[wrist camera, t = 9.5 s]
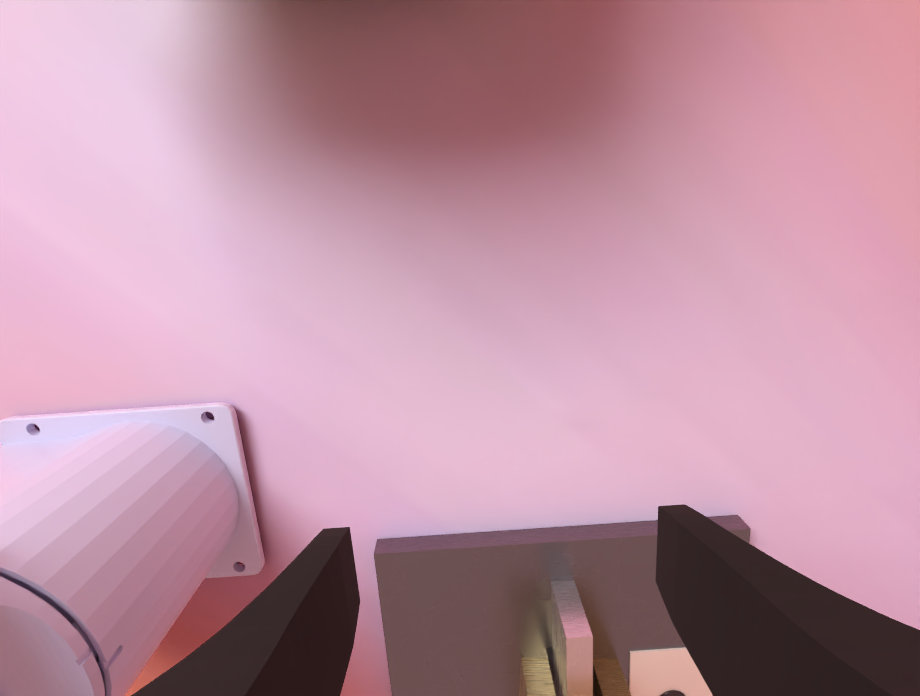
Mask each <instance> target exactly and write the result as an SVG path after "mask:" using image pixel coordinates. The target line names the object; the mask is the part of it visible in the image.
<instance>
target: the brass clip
mask: <svg viewBox="0 0 920 696" xmlns="http://www.w3.org/2000/svg"><path fill="white" fill-rule="evenodd" d="M519 696H556V694H555V689H554V685H553V680H552V675H551V671H550V666H549V661H548V658H521V672H520V686H519ZM593 696H631V693H630V690H629V688H628V685H627V682H626V680H625V677H624V674H623V672H622V669H621V666H620V664H619V661H618V658H593Z"/></svg>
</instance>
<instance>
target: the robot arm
mask: <svg viewBox="0 0 920 696" xmlns="http://www.w3.org/2000/svg"><path fill="white" fill-rule="evenodd" d="M206 412H210V413H212V414H213V416H214V420H210V419H209V418H207V416H206ZM34 424H35V425H37V426H38V427H39V429H40V431H38V430H37V429H36V428H35V426H34ZM0 443H1V446H0V696H125V695H126V693H127V692H128V690H129V689H130V687H131V686H132V684H133V683H134V681H135V680H136V678H137V677H138V675H139V674H140V673H141V671H142V670H143V668H144V667H145V665H146V664H147V662H148V661H149V659H150V658H151V656H152V655H153V653H154V652H155V650H156V649H157V648H158V646H159V645H160V643H161V642H162V640H163V639H164V637H165V636H166V634H167V633H168V631H169V630H170V628H171V627H172V626H173V624H174V623H175V621H176V620H177V618H178V617H179V615H180V614H181V612H182V611H183V609H184V608H185V606H186V605H187V604H188V602H189V601H190V599H191V598H192V596H193V595H194V593H195V592H196V590H197V589H198V587H199V586H200V584H201V583H202V581H203V580H204V579H206V578H221V577H235V576H250V575H256V574H258V573H260V572H261V570H262V568H263V566H264V564H265V558H264V553H263V548H262V543H261V538H260V533H259V528H258V522H257V517H256V512H255V507H254V502H253V497H252V492H251V486H250V481H249V476H248V471H247V466H246V461H245V456H244V450H243V445H242V440H241V435H240V430H239V425H238V420H237V415H236V411H235V409H234V408H233V406H232V405H230V404H228V403H225V402H215V403H200V404H186V405H171V406H156V407H142V408H127V409H112V410H98V411H83V412H68V413H54V414H39V415H24V416H11V417H8V418H5V419H3V420H1V421H0ZM237 562H241V563H243V564H244V565H245V566H240V565H239V564H238V563H237ZM656 584H657V586H658V589H659V591H660V594H661V596H662V599H663V601H664V604H665V606H666V609H667V611H668V613H669V616H670V618H671V620H672V623H673V625H674V627H675V629H676V630H677V632H678V634H679V636H680V638H681V640H682V641H683V643H684V645H685V647H686V649H687V650H688V652H689V654H690V656H691V658H692V659H693V661H694V663H695V665H696V666H697V668H698V670H699V672H700V674H701V675H702V677H703V679H704V681H705V682H706V684H707V686H708V688H709V690H710V691H711V693H712V695H713V696H920V630H918V629H916V628H913V627H911V626H908V625H906V624H903V623H901V622H899V621H896V620H894V619H892V618H889V617H887V616H885V615H883V614H880V613H878V612H876V611H874V610H872V609H870V608H867V607H865V606H863V605H861V604H859V603H857V602H855V601H853V600H851V599H848V598H846V597H844V596H842V595H840V594H838V593H836V592H834V591H832V590H830V589H828V588H826V587H824V586H822V585H820V584H819V583H817V582H815V581H813V580H811V579H809V578H808V577H806V576H804V575H802V574H800V573H798V572H797V571H795V570H793V569H791V568H789V567H788V566H786V565H784V564H782V563H781V562H779V561H777V560H775V559H774V558H772V557H770V556H769V555H767V554H765V553H764V552H762V551H760V550H759V549H757V548H755V547H754V546H752V545H750V544H749V543H747V542H746V541H744V540H742V539H741V538H739V537H737V536H736V535H734V534H733V533H731V532H729V531H728V530H726V529H725V528H723V527H721V526H720V525H718V524H717V523H715V522H714V521H712V520H710V519H709V518H707V517H705V516H704V515H702V514H701V513H699V512H697V511H695V510H694V509H692V508H690V507H688V506H687V505H671V506H658V530H657V555H656ZM359 605H360V597H359V590H358V583H357V576H356V569H355V562H354V555H353V548H352V541H351V533H350V527H344V528H330V529H323V530H322V531H321V532H320V533H319V534H318V535H317V536H316V537H315V538H314V539H313V540H312V541H311V542H310V544H309V545H308V546H307V547H306V548H305V549H304V550H303V551H302V552H301V553H300V554H299V555H298V556H297V557H296V558H295V559H294V560H293V561H292V563H291V564H290V565H289V566H288V567H287V568H286V569H285V570H284V571H283V572H282V573H281V574H280V575H279V576H278V577H277V578H276V579H275V580H274V581H273V582H272V583H271V584H270V585H269V586H268V587H267V588H266V589H265V590H264V591H263V592H262V593H261V594H260V595H258V596H257V597H256V598H255V599H254V600H253V601H252V602H251V603H250V604H249V605H248V606H247V607H246V608H244V609H243V610H242V611H241V612H240V613H239V614H238V615H237V616H236V617H235V618H234V619H233V620H231V621H230V622H229V623H228V624H227V625H226V626H224V627H223V628H222V629H221V630H220V631H219V632H217V633H216V634H215V635H214V636H213V637H211V638H210V639H209V640H207V641H206V642H205V643H204V644H202V645H201V646H200V647H199V648H197V649H196V650H195V651H194V652H192V653H191V654H190V655H188V656H187V657H186V658H184V659H183V660H182V661H180V662H179V663H178V664H176V665H175V666H173V667H172V668H170V669H169V670H167V671H166V672H165V673H163V674H162V675H160V676H159V677H157V678H156V679H155V680H153V681H152V682H150V683H149V684H147V685H146V686H145V687H143V688H142V689H140V690H139V691H137V692H136V693H135V694H133V695H131V696H340V693H341V690H342V686H343V682H344V679H345V675H346V671H347V667H348V664H349V660H350V656H351V652H352V649H353V644H354V638H355V632H356V626H357V619H358V612H359Z"/></svg>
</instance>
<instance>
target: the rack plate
mask: <svg viewBox="0 0 920 696" xmlns="http://www.w3.org/2000/svg"><path fill="white" fill-rule="evenodd" d="M707 518H709V519H710V520H712V521H714V522H715V523H717V524H718V525H720V526H721V527H723V528H725V529H726V530H728V531H729V532H731V533H733V534H734V535H736V536H737V537H739V538H741V539H742V540H744V541H746V542H747V543H749V539H750V528H749V527H748V526H747V525H746V523H745V522H744V521H743V520H742V519H741V518H740V517H739V516H738V515H731V516H716V517H707ZM657 530H658V520H657V521H642V522H627V523H612V524H597V525H583V526H568V527H553V528H538V529H523V530H508V531H493V532H479V533H464V534H449V535H434V536H419V537H404V538H389V539H377V543H376V547H375V551H374V559H375V566H376V574H377V582H378V590H379V597H380V605H381V613H382V621H383V628H384V636H385V644H386V652H387V660H388V667H389V675H390V683H391V691H392V696H519V686H520V672H521V658H548V661H549V666H550V671H551V675H552V680H553V685H554V689H555V694H556V696H593V658H618V661H619V664H620V666H621V669H622V672H623V674H624V677H625V680H626V682H627V685H628V688H629V690H630V693H631V696H713V695H712V693H711V691H710V690H709V688H708V686H707V684H706V682H705V681H704V679H703V677H702V675H701V674H700V672H699V670H698V668H697V666H696V665H695V663H694V661H693V659H692V658H691V656H690V654H689V652H688V650H687V649H686V647H685V645H684V643H683V641H682V640H681V638H680V636H679V634H678V632H677V630H676V629H675V627H674V625H673V623H672V620H671V618H670V616H669V613H668V611H667V609H666V606H665V604H664V601H663V599H662V596H661V594H660V591H659V589H658V586H657V584H656V555H657Z"/></svg>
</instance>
